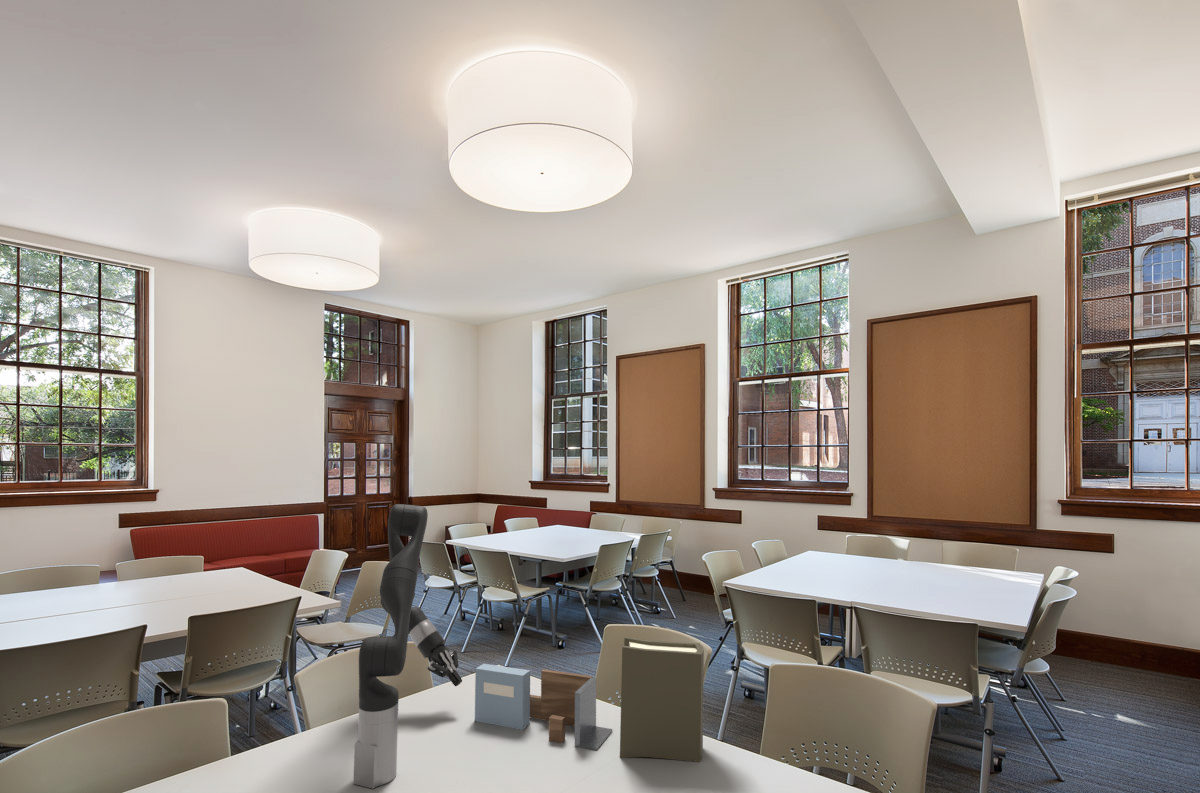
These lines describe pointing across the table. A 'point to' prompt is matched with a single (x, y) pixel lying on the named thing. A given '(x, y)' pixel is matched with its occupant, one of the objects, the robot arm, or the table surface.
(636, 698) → the book
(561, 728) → the rail
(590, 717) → the bookend
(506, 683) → the boxed book
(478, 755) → the table surface
